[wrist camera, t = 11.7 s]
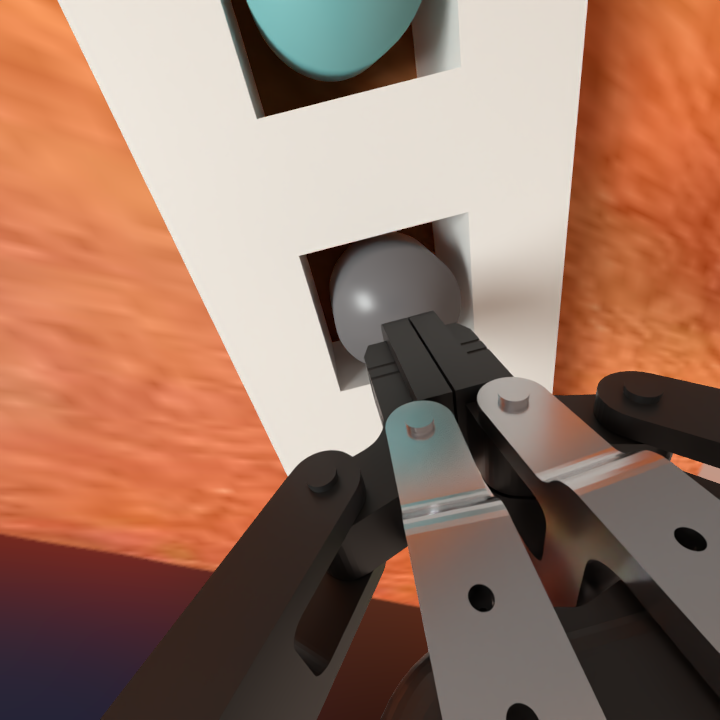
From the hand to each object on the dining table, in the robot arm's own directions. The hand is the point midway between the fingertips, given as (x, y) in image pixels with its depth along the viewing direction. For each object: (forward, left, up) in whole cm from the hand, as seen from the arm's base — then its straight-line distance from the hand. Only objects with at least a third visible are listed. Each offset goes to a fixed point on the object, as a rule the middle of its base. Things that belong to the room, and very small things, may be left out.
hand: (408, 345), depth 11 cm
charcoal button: (0, 0, -5) cm, 5 cm away
